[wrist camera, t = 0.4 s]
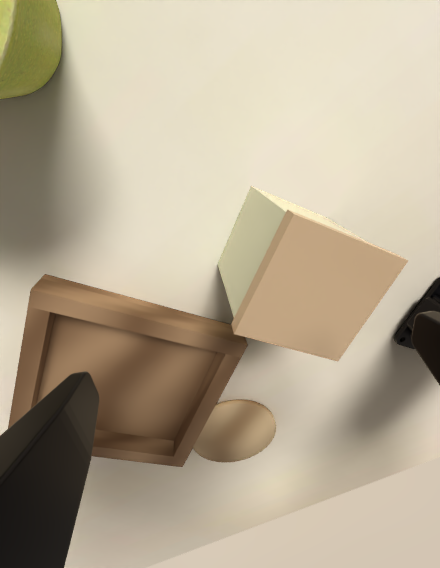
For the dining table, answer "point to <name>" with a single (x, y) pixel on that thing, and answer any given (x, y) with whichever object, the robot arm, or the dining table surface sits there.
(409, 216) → the dining table surface
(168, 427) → the walnut tray
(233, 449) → the cork coaster
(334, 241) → the sage canister
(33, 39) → the plant pot
